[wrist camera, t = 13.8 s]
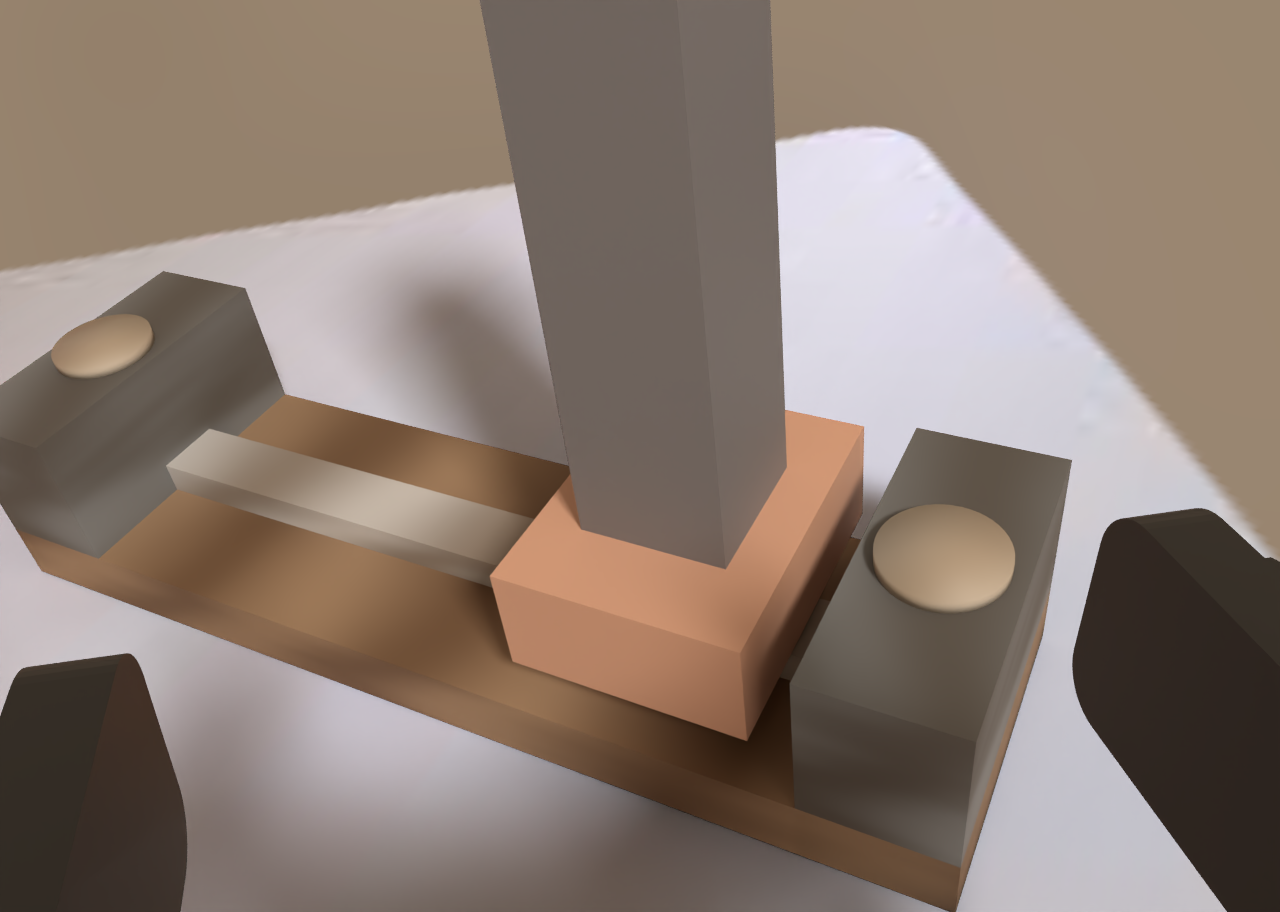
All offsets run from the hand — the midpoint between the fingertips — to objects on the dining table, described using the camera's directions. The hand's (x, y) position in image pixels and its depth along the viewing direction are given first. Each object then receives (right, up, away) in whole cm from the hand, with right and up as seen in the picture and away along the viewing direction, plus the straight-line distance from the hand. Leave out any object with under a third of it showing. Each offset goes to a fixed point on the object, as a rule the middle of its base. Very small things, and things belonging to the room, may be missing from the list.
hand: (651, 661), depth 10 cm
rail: (-4, -2, +18) cm, 19 cm away
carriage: (+1, -1, +14) cm, 14 cm away
